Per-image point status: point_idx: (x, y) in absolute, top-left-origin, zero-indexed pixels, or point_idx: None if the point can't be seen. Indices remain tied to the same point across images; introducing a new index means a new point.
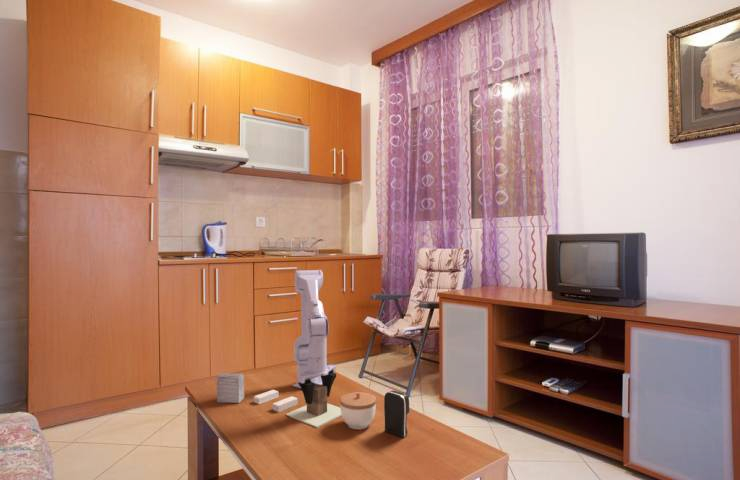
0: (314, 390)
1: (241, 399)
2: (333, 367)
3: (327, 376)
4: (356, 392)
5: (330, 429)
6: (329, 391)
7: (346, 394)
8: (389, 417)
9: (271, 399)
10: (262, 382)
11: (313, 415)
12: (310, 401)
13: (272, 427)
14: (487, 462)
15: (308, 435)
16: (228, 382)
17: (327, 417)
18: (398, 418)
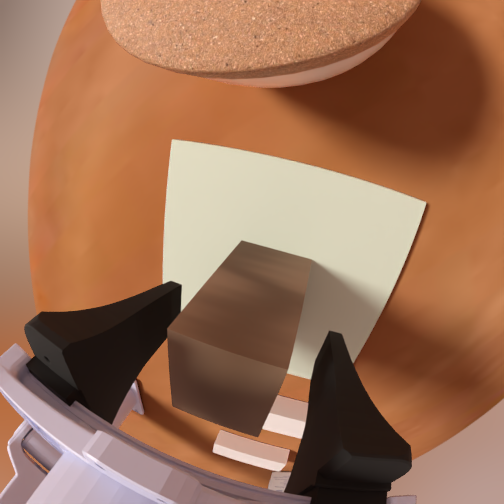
0: (278, 387)
1: (289, 474)
2: (4, 380)
3: (92, 381)
4: (121, 22)
5: (411, 123)
6: (155, 293)
7: (201, 51)
8: None
9: (246, 439)
10: (178, 455)
11: (312, 285)
12: (345, 345)
13: (445, 368)
14: None
15: (493, 205)
16: None
17: (304, 202)
18: None
